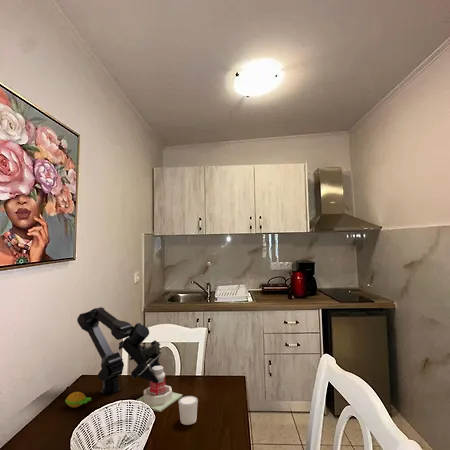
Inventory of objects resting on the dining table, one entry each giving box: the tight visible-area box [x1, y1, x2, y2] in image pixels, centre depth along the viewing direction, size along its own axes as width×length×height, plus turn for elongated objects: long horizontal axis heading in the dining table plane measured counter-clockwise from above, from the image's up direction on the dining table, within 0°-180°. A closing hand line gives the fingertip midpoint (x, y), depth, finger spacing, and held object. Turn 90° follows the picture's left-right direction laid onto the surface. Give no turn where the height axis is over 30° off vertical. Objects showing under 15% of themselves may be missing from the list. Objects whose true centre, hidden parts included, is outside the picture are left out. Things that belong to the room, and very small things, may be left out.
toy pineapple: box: [64, 391, 92, 409], centre depth 125 cm, size 7×10×5 cm
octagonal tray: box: [136, 384, 183, 413], centre depth 128 cm, size 14×14×4 cm
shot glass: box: [178, 395, 199, 426], centre depth 113 cm, size 7×7×7 cm
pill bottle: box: [149, 365, 166, 396], centre depth 129 cm, size 6×6×11 cm
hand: (160, 378), depth 129 cm, fingers closed on pill bottle, 6 cm apart
